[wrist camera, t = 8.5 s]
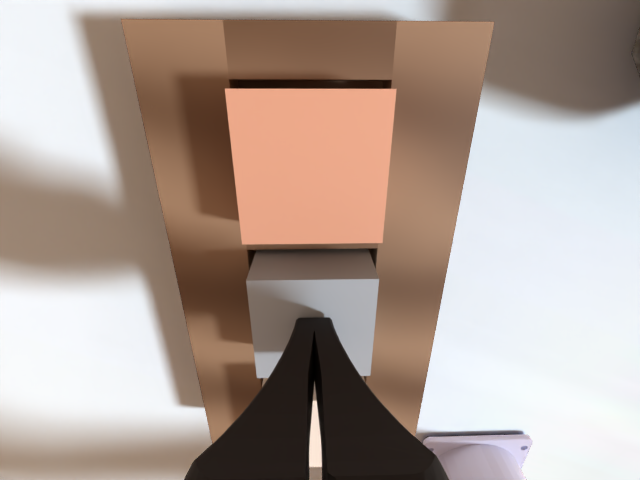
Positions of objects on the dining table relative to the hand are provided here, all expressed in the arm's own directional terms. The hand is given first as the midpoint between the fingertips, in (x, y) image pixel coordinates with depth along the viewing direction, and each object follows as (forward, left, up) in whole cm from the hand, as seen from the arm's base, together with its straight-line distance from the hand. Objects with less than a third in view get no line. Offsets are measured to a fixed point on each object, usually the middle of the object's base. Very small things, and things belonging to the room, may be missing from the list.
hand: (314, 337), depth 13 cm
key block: (0, 0, -5) cm, 5 cm away
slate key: (0, 0, -4) cm, 4 cm away
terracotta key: (+7, 0, -4) cm, 8 cm away
